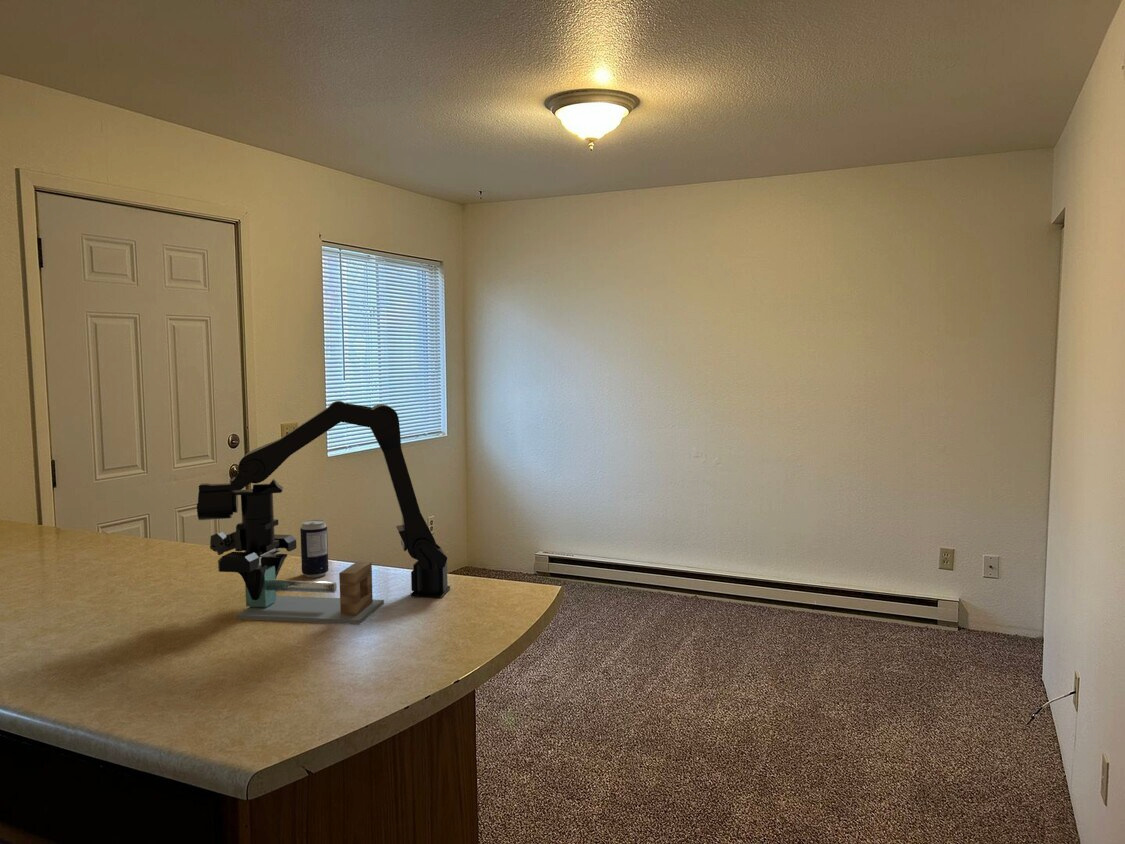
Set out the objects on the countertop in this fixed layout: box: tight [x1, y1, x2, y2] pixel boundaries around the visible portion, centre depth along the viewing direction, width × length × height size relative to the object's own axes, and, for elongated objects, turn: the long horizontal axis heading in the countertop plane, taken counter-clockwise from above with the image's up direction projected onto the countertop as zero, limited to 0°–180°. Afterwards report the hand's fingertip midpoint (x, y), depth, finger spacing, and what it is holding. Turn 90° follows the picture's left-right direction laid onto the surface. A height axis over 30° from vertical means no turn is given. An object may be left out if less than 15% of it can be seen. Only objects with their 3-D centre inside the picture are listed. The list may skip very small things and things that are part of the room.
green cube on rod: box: [244, 565, 338, 608], centre depth 150 cm, size 17×4×7 cm, turn 82°
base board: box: [236, 595, 385, 625], centre depth 150 cm, size 24×12×1 cm, turn 82°
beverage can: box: [299, 519, 329, 579], centre depth 174 cm, size 6×6×12 cm
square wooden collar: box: [338, 561, 374, 616], centre depth 148 cm, size 3×8×8 cm, turn 172°
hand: (261, 596), depth 151 cm, fingers closed on green cube on rod, 4 cm apart
